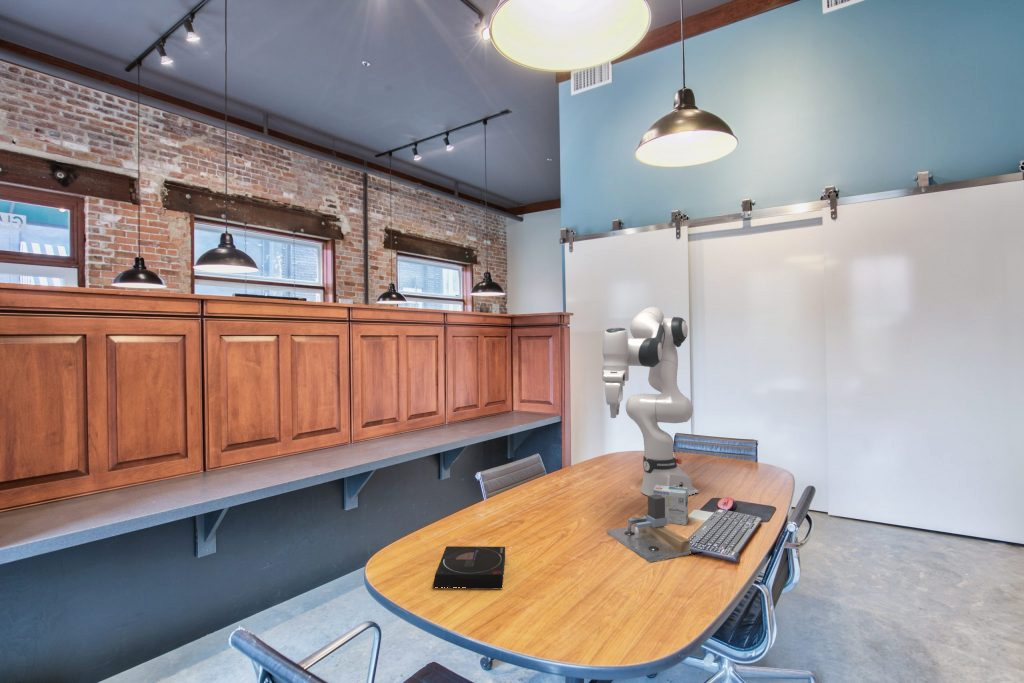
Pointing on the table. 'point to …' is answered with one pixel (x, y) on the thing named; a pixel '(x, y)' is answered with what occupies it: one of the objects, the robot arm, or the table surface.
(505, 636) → the table surface
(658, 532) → the rail
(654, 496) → the sliding point
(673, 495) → the light bulb box
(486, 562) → the portable cd player
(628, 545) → the bolt plate
